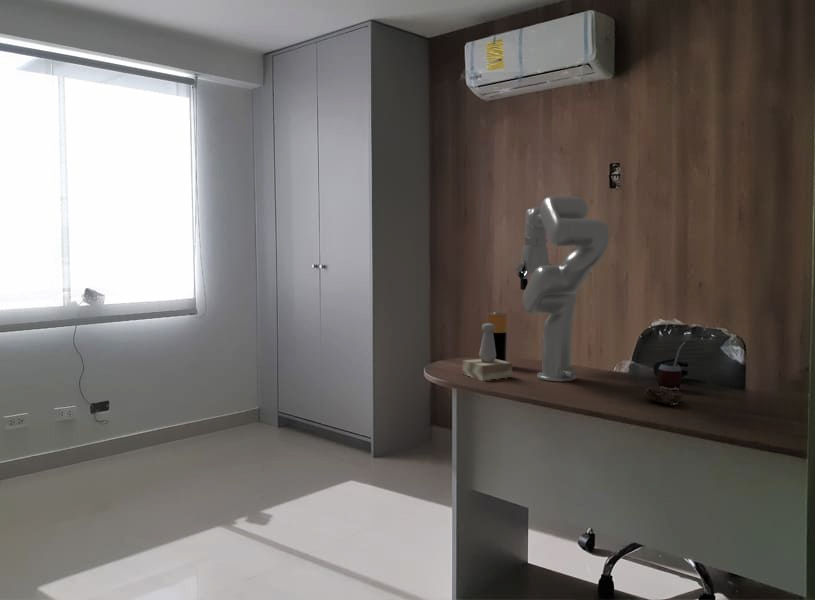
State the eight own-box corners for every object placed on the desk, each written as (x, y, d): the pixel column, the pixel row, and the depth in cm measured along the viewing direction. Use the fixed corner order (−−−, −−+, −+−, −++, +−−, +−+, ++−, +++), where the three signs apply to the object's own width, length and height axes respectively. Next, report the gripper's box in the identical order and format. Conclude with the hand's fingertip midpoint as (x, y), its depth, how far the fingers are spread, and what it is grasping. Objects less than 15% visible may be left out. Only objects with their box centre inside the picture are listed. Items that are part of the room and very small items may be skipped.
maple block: (511, 377, 230) (512, 363, 229) (482, 381, 224) (482, 366, 223) (490, 371, 240) (490, 357, 240) (462, 374, 234) (462, 360, 234)
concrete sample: (668, 409, 188) (669, 391, 188) (637, 402, 196) (638, 385, 196) (692, 404, 195) (693, 387, 194) (661, 397, 203) (662, 380, 203)
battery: (503, 364, 254) (504, 311, 252) (507, 367, 247) (509, 313, 245) (484, 364, 254) (485, 311, 252) (488, 368, 247) (489, 313, 245)
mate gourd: (655, 391, 211) (657, 343, 210) (658, 386, 218) (660, 339, 217) (681, 393, 208) (683, 344, 207) (683, 388, 215) (685, 341, 214)
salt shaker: (478, 362, 229) (479, 324, 228) (479, 359, 235) (479, 322, 234) (496, 363, 228) (496, 325, 227) (496, 360, 234) (496, 322, 233)
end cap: (669, 376, 235) (670, 356, 235) (688, 379, 230) (689, 359, 229) (652, 379, 229) (653, 359, 229) (671, 383, 224) (672, 362, 223)
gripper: (546, 242, 256) (545, 288, 257) (510, 242, 247) (509, 289, 249) (560, 242, 249) (559, 289, 251) (523, 242, 241) (522, 290, 242)
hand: (534, 289), depth 250 cm, fingers open, 9 cm apart
